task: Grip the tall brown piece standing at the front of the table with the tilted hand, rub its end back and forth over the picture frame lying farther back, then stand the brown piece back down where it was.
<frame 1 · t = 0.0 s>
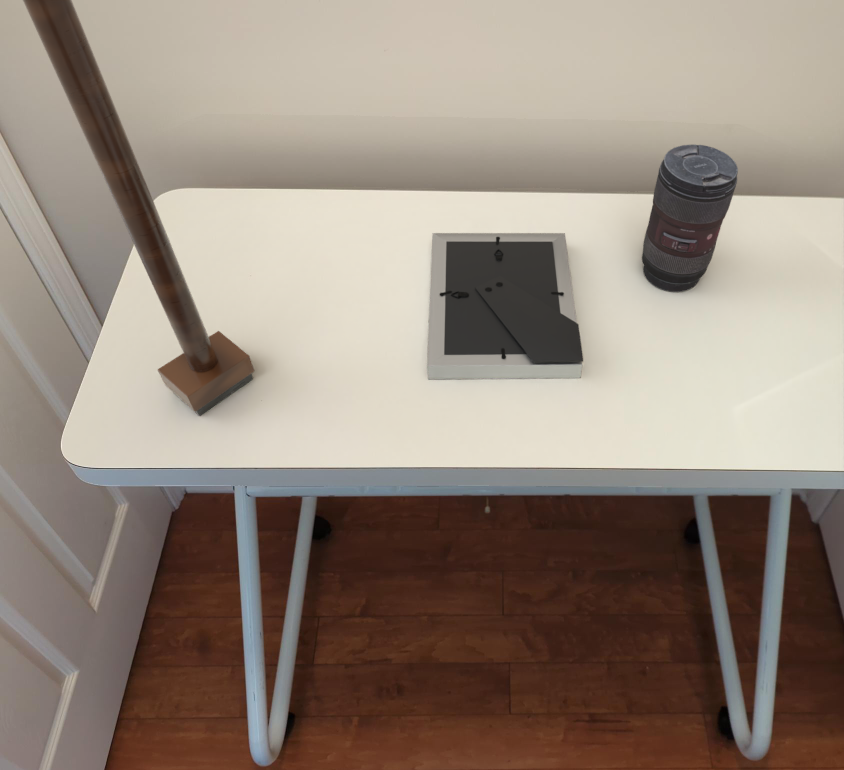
camera lens: (671, 274, 89), on the table
brown piece: (213, 385, 76), on the table
picture frame: (501, 308, 84), on the table
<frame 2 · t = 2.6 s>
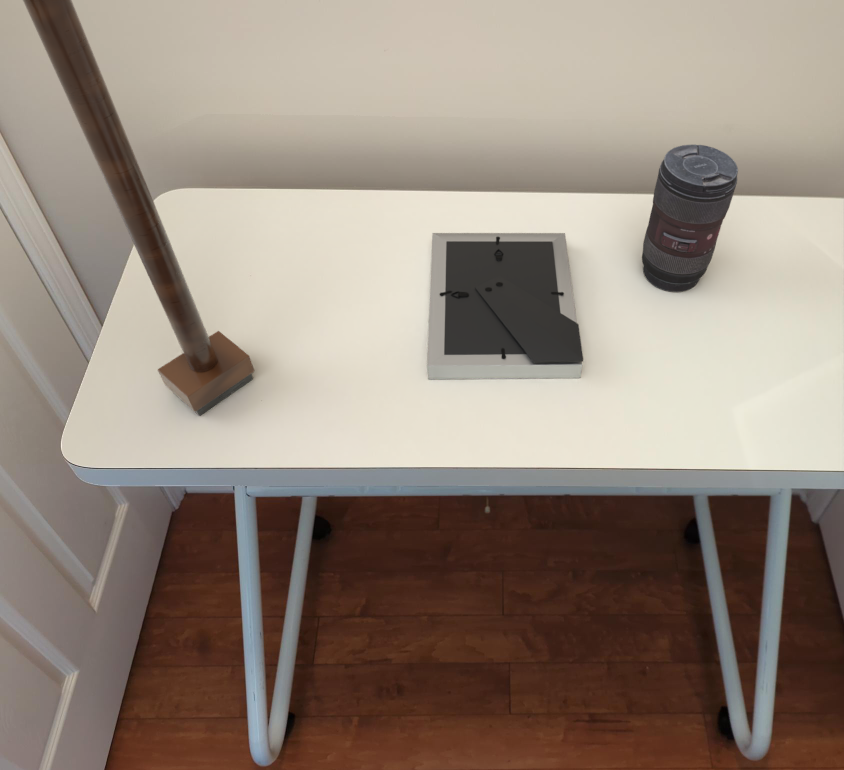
nothing on the table moved.
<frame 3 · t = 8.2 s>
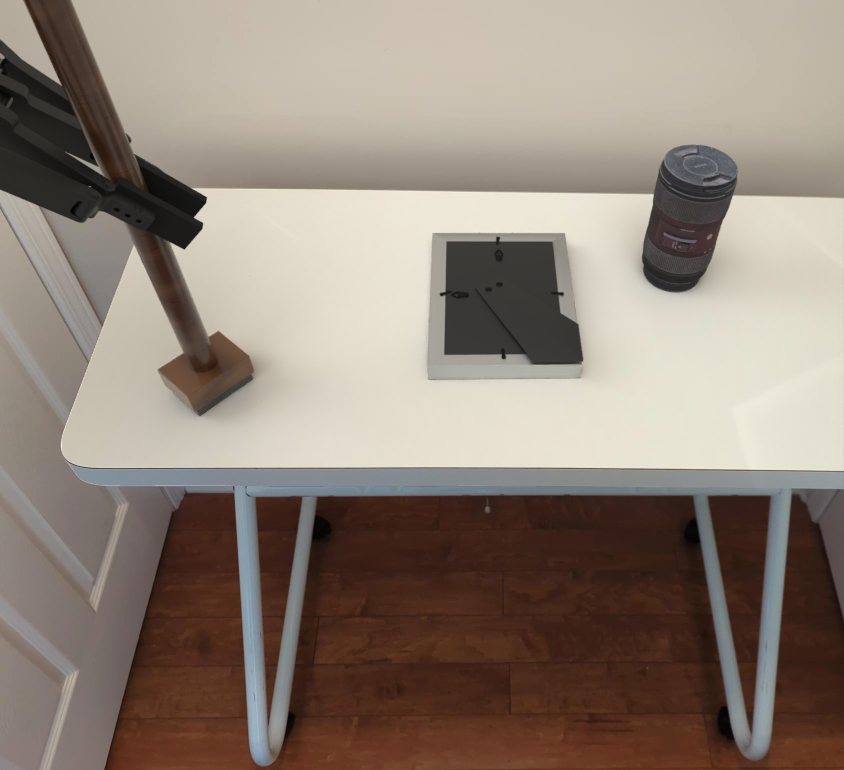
hand: (195, 222, 61), 20 cm above the table, tool tilted 45°, fingers closed on brown piece, 3 cm apart
brown piece: (213, 385, 76), on the table, touching gripper
everything else where it was.
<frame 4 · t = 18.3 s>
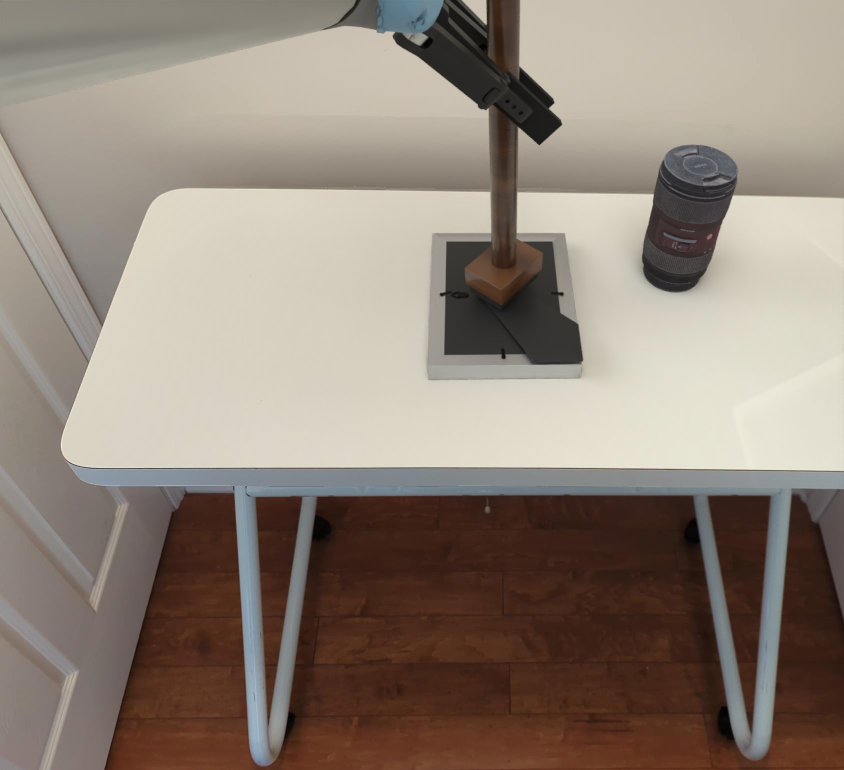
hand: (545, 121, 66), 23 cm above the table, tool tilted 45°, fingers closed on brown piece, 3 cm apart
brown piece: (504, 284, 82), point 3 cm above the table, touching gripper, picture frame
picture frame: (501, 308, 84), on the table, touching brown piece
everything else where it was.
when the fingers open (21 cm above the table, at t = 28.5 s): brown piece stays where it is, on the table.
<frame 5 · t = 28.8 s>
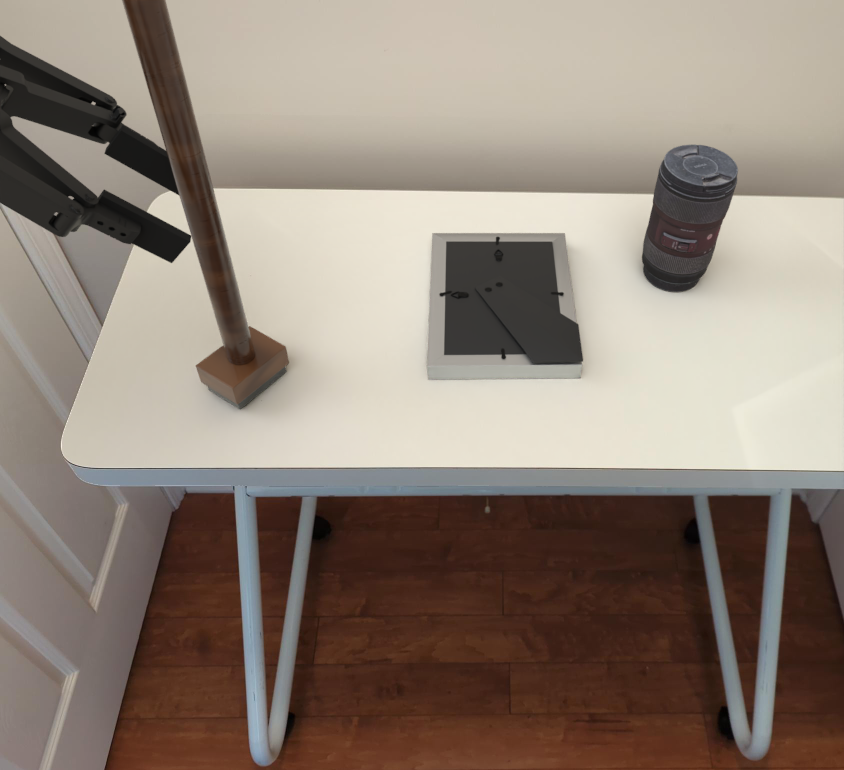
hand: (186, 215, 60), 21 cm above the table, tool tilted 45°, fingers open, 7 cm apart
brown piece: (248, 380, 76), on the table
picture frame: (501, 308, 84), on the table
everything else where it was.
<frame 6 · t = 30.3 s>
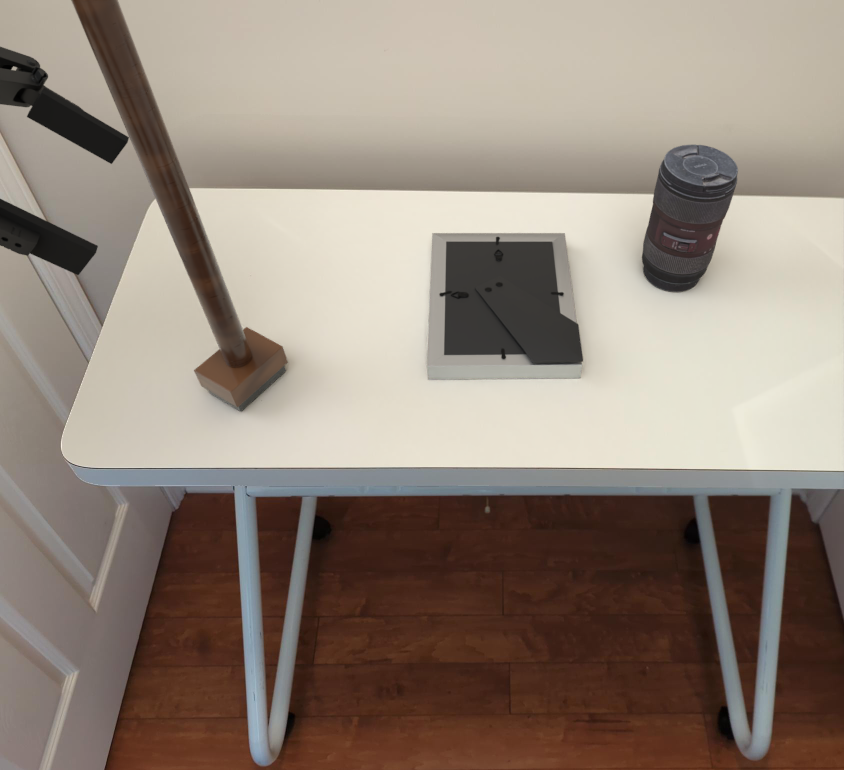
hand: (106, 202, 58), 23 cm above the table, tool tilted 45°, fingers open, 13 cm apart
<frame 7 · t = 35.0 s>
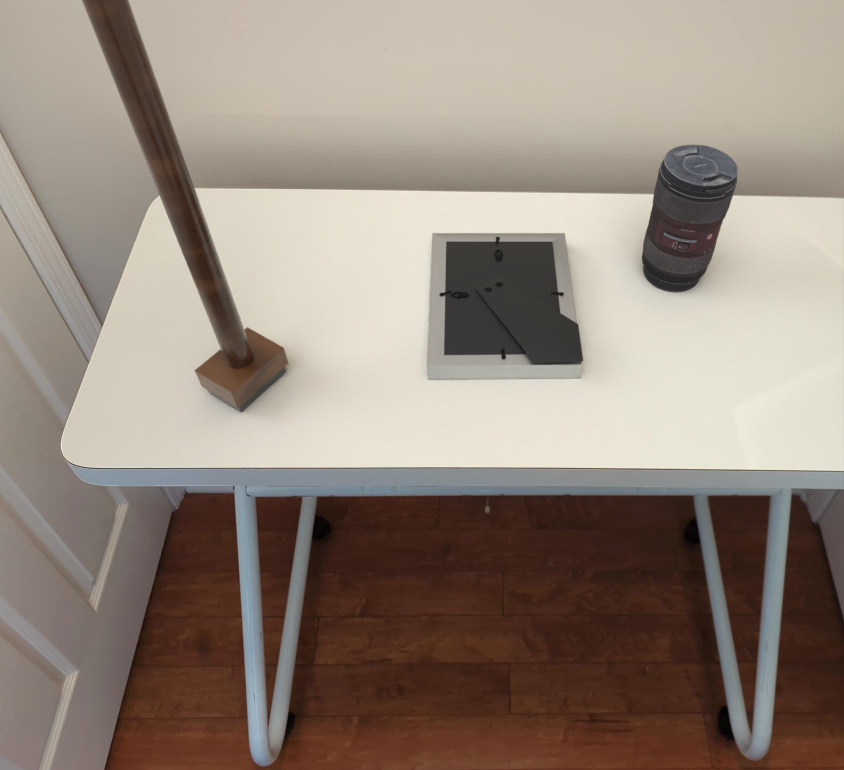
at the end: brown piece inside the target area (3.4 cm from its centre), on the table; the gripper is holding nothing; picture frame moved 0.2 cm from its start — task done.
